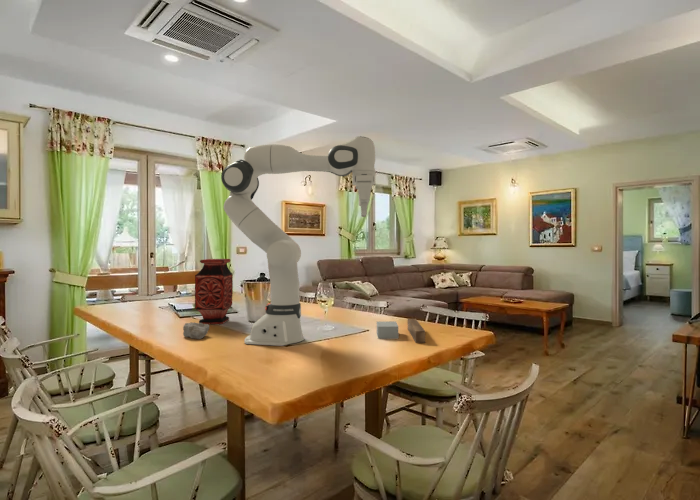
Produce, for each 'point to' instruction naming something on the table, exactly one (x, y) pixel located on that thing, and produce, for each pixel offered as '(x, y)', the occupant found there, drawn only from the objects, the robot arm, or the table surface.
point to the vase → (214, 291)
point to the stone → (195, 330)
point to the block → (387, 330)
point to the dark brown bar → (416, 331)
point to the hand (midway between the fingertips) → (364, 216)
